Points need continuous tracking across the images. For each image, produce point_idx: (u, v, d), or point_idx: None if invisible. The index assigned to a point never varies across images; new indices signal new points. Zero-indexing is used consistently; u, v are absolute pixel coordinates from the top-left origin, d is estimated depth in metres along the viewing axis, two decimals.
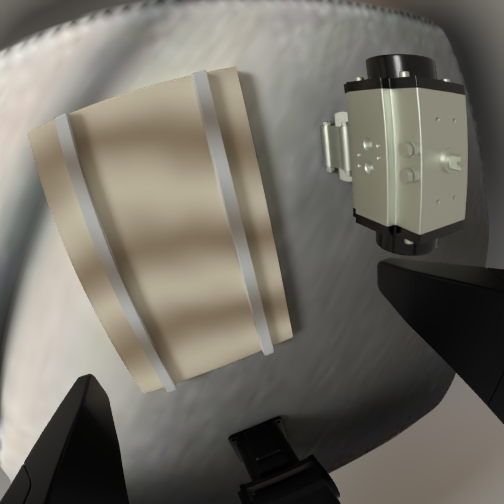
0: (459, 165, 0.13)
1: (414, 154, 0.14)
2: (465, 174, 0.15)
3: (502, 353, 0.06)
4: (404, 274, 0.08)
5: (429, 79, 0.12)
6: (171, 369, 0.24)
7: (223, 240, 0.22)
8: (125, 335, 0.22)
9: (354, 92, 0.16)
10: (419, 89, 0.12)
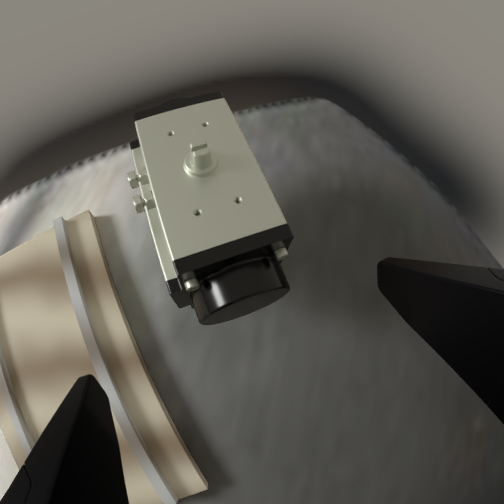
0: (195, 152, 0.12)
1: (140, 177, 0.13)
2: (253, 168, 0.13)
3: (502, 353, 0.06)
4: (404, 274, 0.08)
5: (153, 108, 0.14)
6: None
7: (90, 367, 0.18)
8: (23, 455, 0.15)
9: None
10: (138, 121, 0.14)
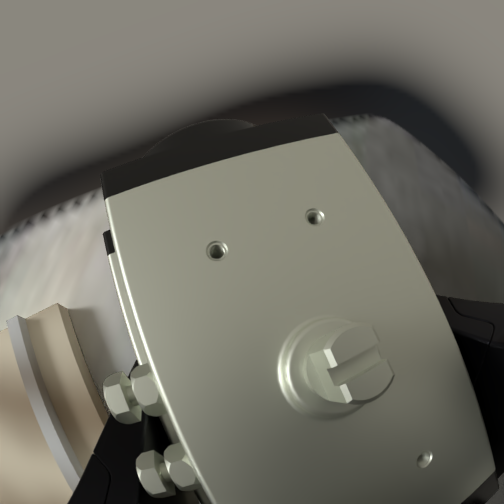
0: (345, 382, 0.03)
1: (144, 407, 0.04)
2: (451, 359, 0.04)
3: None
4: None
5: (155, 156, 0.05)
6: None
7: None
8: None
9: None
10: (115, 200, 0.05)
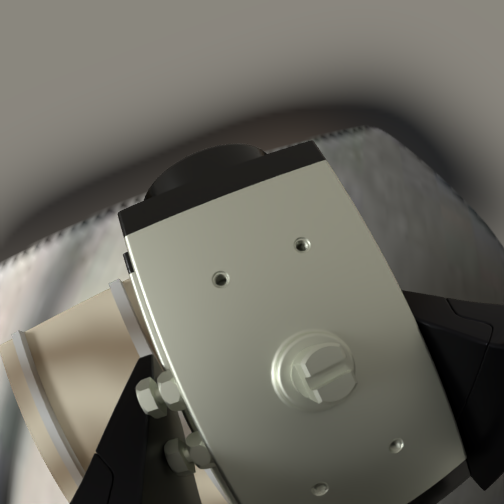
0: (317, 388, 0.04)
1: (168, 405, 0.05)
2: (421, 363, 0.05)
3: (458, 395, 0.05)
4: None
5: (164, 195, 0.06)
6: None
7: None
8: None
9: None
10: (133, 237, 0.06)
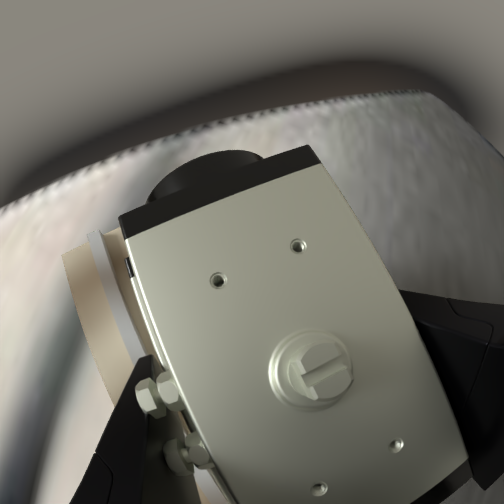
0: (313, 384, 0.04)
1: (168, 405, 0.05)
2: (420, 361, 0.05)
3: (458, 395, 0.05)
4: None
5: (163, 199, 0.07)
6: None
7: None
8: None
9: None
10: (133, 240, 0.06)
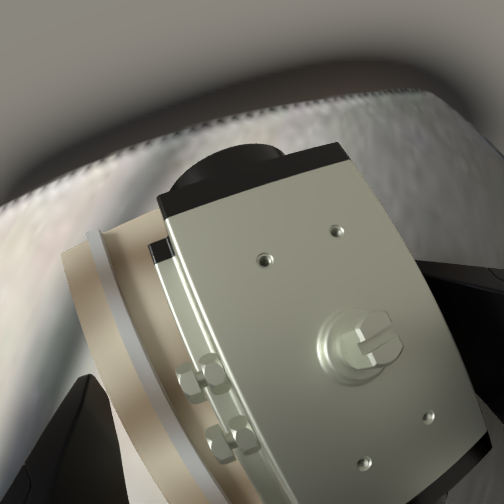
0: (370, 351, 0.05)
1: (213, 387, 0.05)
2: (444, 339, 0.06)
3: (502, 353, 0.06)
4: None
5: (204, 181, 0.07)
6: None
7: None
8: (192, 499, 0.12)
9: None
10: (174, 219, 0.06)
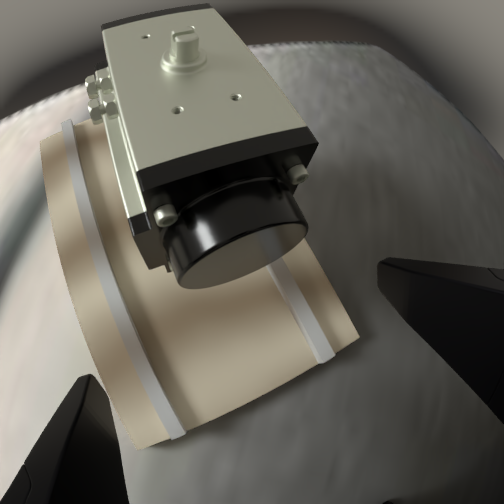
0: (178, 38, 0.07)
1: (101, 80, 0.08)
2: (255, 66, 0.09)
3: (502, 353, 0.06)
4: (404, 274, 0.08)
5: (126, 18, 0.09)
6: (177, 402, 0.15)
7: None
8: (107, 338, 0.15)
9: None
10: (107, 30, 0.09)
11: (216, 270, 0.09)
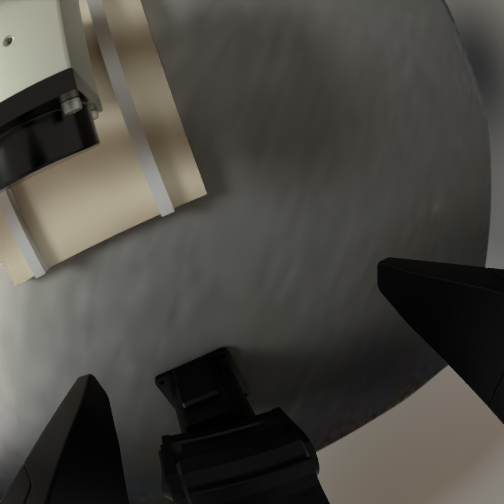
0: None
1: None
2: None
3: (502, 353, 0.06)
4: (404, 274, 0.08)
5: None
6: (40, 243, 0.16)
7: (91, 54, 0.13)
8: None
9: None
10: None
11: (20, 181, 0.08)
